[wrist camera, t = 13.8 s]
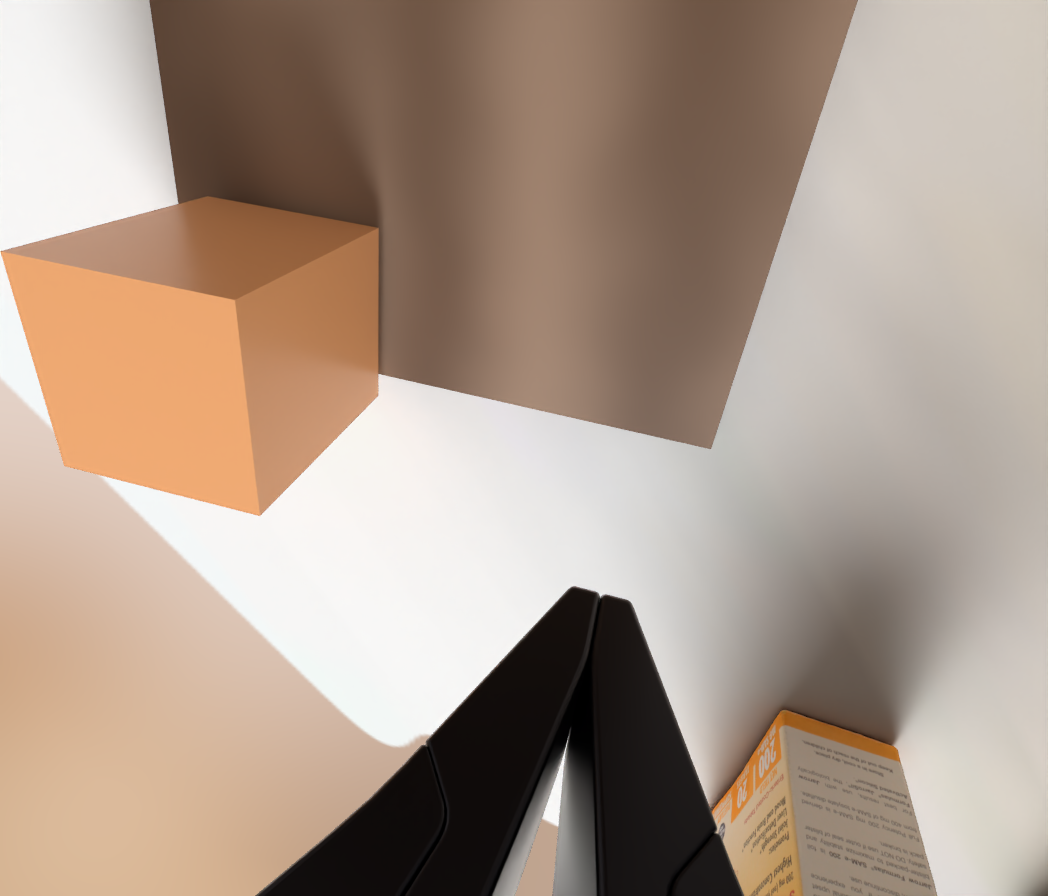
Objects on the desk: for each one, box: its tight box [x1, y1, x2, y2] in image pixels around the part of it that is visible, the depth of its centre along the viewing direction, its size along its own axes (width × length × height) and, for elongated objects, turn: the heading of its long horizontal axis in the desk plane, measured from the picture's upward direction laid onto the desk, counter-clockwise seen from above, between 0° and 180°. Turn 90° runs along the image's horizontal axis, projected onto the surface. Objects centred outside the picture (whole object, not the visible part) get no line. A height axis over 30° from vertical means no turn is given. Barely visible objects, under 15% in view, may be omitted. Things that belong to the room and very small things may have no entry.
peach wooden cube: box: [1, 196, 379, 516], centre depth 17 cm, size 5×5×7 cm
